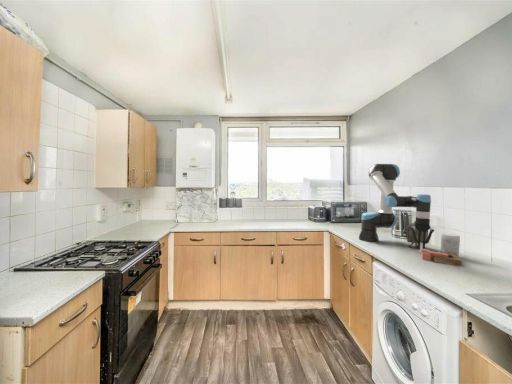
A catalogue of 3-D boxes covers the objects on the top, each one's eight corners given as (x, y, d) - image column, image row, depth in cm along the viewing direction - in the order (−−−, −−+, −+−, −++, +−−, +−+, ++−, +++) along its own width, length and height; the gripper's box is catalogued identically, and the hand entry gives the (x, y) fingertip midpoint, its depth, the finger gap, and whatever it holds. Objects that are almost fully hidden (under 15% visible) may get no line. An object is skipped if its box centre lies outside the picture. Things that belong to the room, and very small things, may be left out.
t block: (421, 254, 157) (422, 248, 156) (446, 258, 149) (446, 252, 149) (422, 259, 146) (422, 253, 146) (448, 263, 138) (449, 257, 138)
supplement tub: (442, 252, 161) (443, 232, 160) (460, 256, 153) (461, 234, 153) (438, 255, 154) (439, 234, 154) (457, 259, 147) (458, 236, 146)
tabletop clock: (414, 244, 181) (415, 213, 180) (428, 247, 173) (429, 214, 172) (406, 247, 173) (407, 214, 172) (420, 250, 165) (421, 216, 164)
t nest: (432, 255, 154) (432, 251, 154) (457, 259, 147) (457, 254, 146) (433, 261, 142) (434, 256, 142) (461, 266, 135) (461, 261, 135)
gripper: (410, 217, 151) (409, 252, 152) (435, 219, 144) (433, 256, 145) (410, 216, 157) (409, 249, 158) (434, 218, 150) (432, 253, 151)
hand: (421, 252), depth 151 cm, fingers closed
